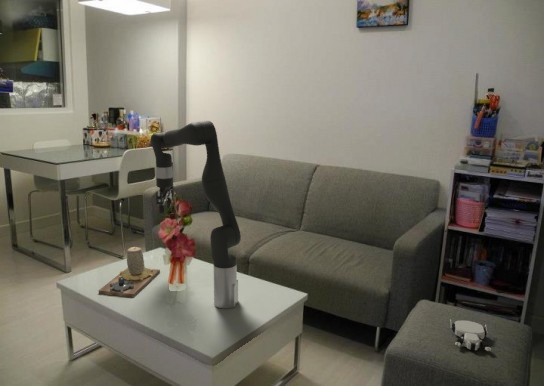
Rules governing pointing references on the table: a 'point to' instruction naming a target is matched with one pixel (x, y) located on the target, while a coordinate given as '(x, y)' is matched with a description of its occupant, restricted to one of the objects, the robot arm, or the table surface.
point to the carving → (135, 260)
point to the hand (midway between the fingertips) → (165, 210)
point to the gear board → (129, 283)
